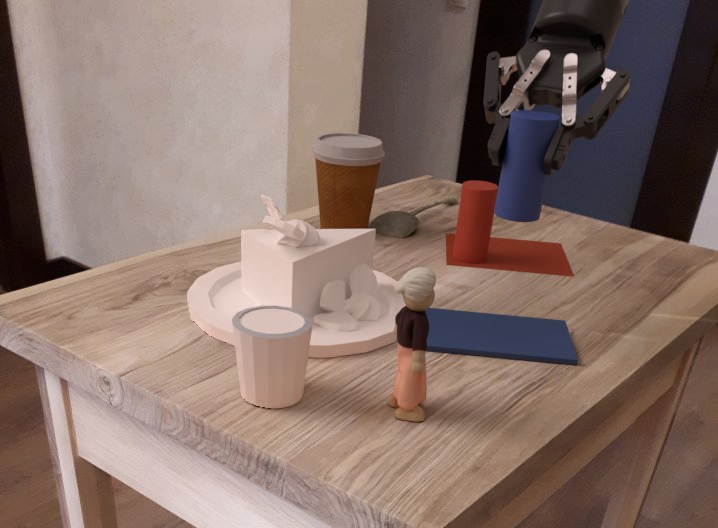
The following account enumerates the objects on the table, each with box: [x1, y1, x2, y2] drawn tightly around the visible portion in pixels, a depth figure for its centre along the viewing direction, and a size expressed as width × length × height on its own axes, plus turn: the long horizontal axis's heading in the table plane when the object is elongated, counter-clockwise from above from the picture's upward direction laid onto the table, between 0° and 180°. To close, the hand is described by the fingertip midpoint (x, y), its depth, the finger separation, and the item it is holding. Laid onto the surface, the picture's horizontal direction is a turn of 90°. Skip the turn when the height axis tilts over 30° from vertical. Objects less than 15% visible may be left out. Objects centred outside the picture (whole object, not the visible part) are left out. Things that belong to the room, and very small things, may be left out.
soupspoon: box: [369, 195, 460, 239], centre depth 115 cm, size 22×3×7 cm
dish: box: [186, 194, 406, 359], centre depth 84 cm, size 25×25×11 cm
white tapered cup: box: [232, 306, 313, 409], centre depth 69 cm, size 7×7×7 cm
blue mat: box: [425, 307, 579, 366], centre depth 84 cm, size 16×10×1 cm, turn 84°
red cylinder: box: [452, 180, 499, 263], centre depth 100 cm, size 4×4×9 cm
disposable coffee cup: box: [311, 132, 386, 229], centre depth 106 cm, size 10×10×12 cm
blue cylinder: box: [494, 109, 561, 223], centre depth 75 cm, size 4×4×9 cm
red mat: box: [445, 232, 575, 278], centre depth 105 cm, size 16×13×1 cm
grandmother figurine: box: [386, 266, 437, 423], centre depth 67 cm, size 8×4×13 cm, turn 21°
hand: (521, 164), depth 73 cm, fingers closed on blue cylinder, 4 cm apart
